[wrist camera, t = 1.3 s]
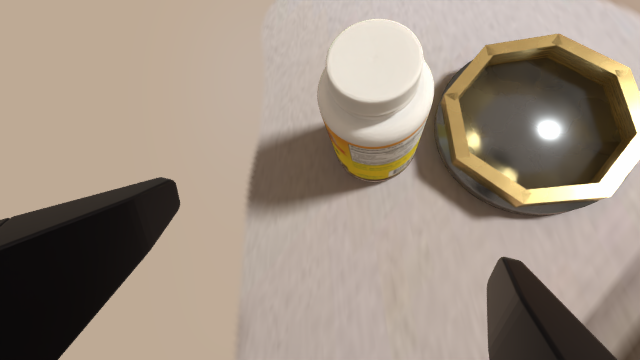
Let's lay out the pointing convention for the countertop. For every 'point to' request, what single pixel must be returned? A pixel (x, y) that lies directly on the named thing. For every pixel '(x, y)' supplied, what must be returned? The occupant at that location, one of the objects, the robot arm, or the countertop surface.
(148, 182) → the robot arm
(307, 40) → the countertop surface
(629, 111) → the black and gold tray
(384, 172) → the supplement bottle
